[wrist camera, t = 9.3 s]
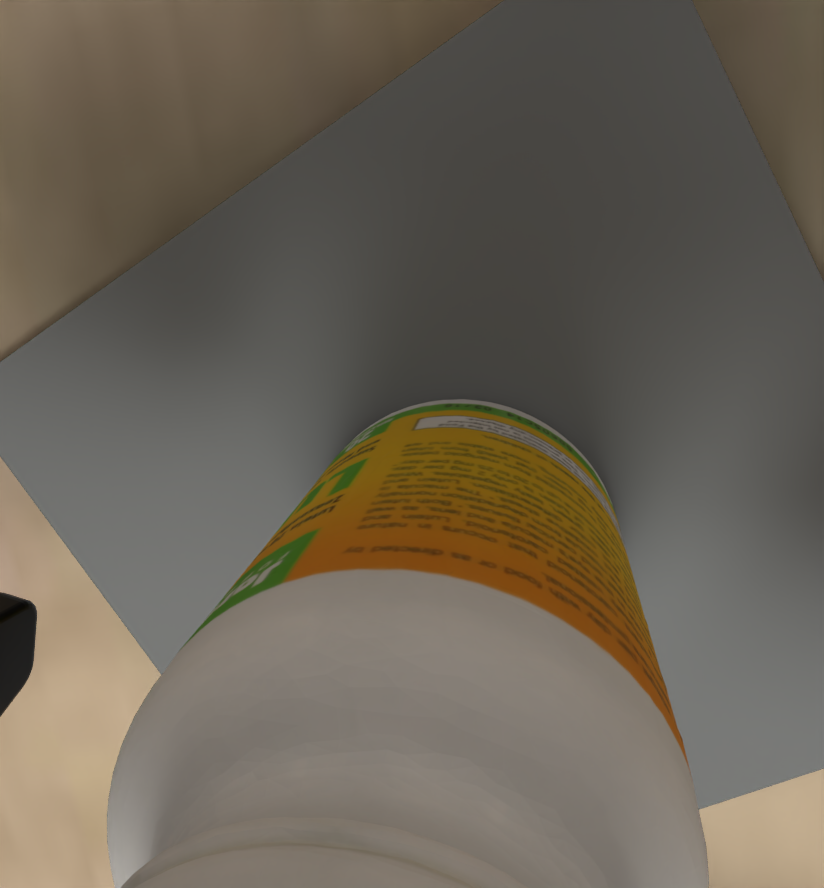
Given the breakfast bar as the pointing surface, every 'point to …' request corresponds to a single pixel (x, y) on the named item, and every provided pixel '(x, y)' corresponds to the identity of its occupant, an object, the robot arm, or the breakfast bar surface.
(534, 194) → the slate mat
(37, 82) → the breakfast bar surface
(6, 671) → the robot arm
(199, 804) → the supplement bottle
